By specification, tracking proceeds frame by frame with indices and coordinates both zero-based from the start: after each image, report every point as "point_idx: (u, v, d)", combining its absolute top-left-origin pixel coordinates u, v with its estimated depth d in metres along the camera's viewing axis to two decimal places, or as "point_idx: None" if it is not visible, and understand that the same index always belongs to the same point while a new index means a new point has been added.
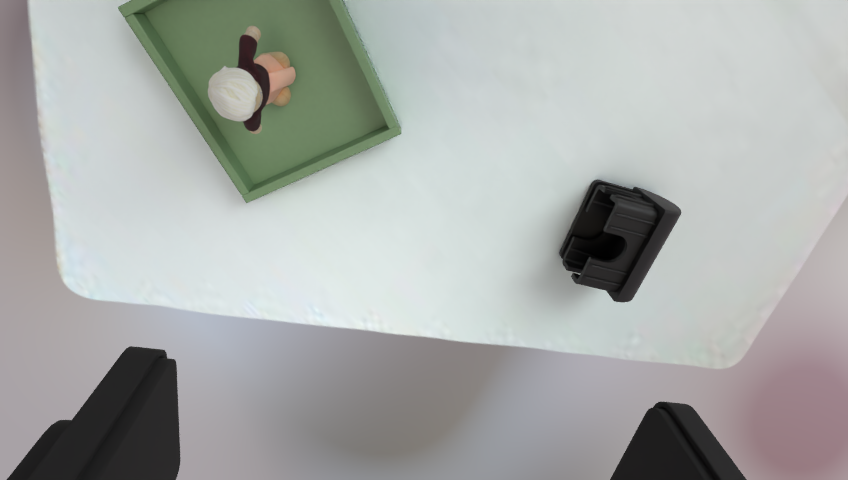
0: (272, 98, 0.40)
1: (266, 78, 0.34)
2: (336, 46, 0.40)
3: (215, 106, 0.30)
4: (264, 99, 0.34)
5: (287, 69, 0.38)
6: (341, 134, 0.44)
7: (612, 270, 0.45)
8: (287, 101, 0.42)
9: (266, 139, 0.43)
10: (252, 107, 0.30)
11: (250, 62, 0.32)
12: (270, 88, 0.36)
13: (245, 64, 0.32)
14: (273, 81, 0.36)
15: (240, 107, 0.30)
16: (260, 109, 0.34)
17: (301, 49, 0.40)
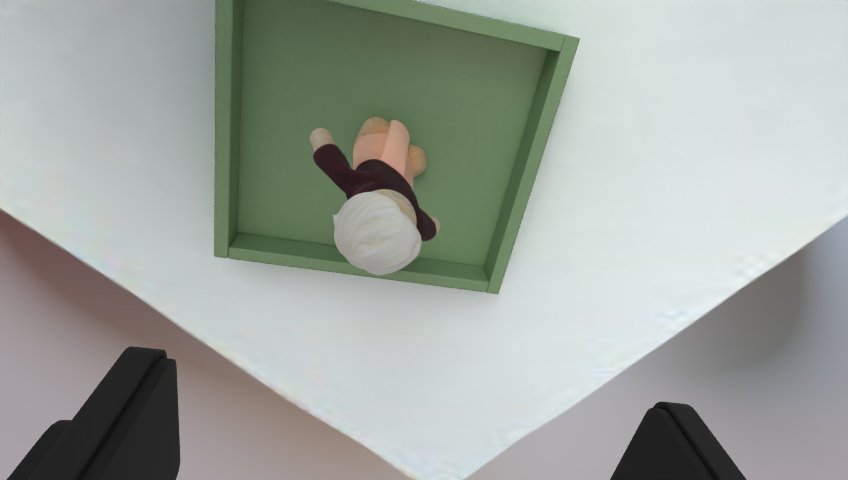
0: (410, 174, 0.27)
1: (384, 168, 0.21)
2: (405, 42, 0.25)
3: (374, 272, 0.18)
4: (408, 193, 0.21)
5: (390, 129, 0.25)
6: (510, 124, 0.28)
7: None
8: (425, 158, 0.28)
9: (448, 215, 0.30)
10: (411, 227, 0.17)
11: (351, 175, 0.20)
12: (399, 172, 0.22)
13: (349, 183, 0.20)
14: (393, 159, 0.23)
15: (399, 245, 0.17)
16: (417, 208, 0.21)
17: (379, 92, 0.27)
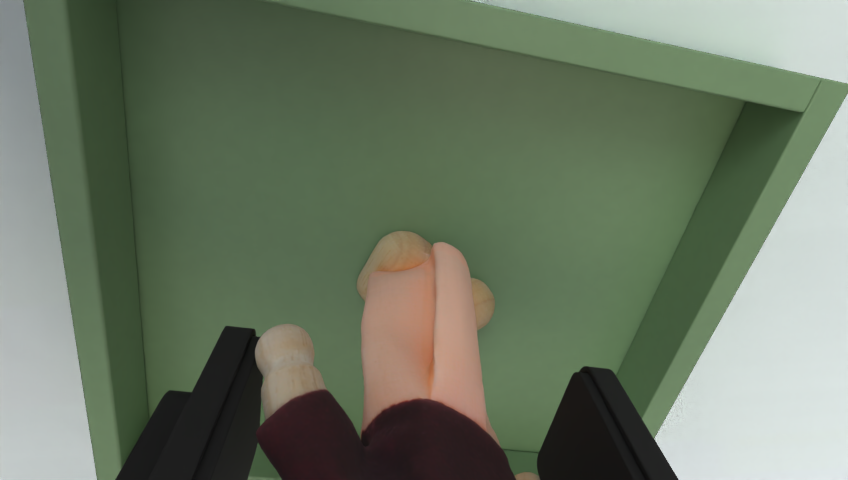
0: None
1: (449, 438, 0.08)
2: (461, 90, 0.12)
3: None
4: None
5: (440, 276, 0.12)
6: (653, 237, 0.15)
7: None
8: (492, 302, 0.15)
9: (523, 384, 0.17)
10: None
11: None
12: (478, 421, 0.09)
13: None
14: (462, 384, 0.09)
15: None
16: None
17: (406, 186, 0.13)
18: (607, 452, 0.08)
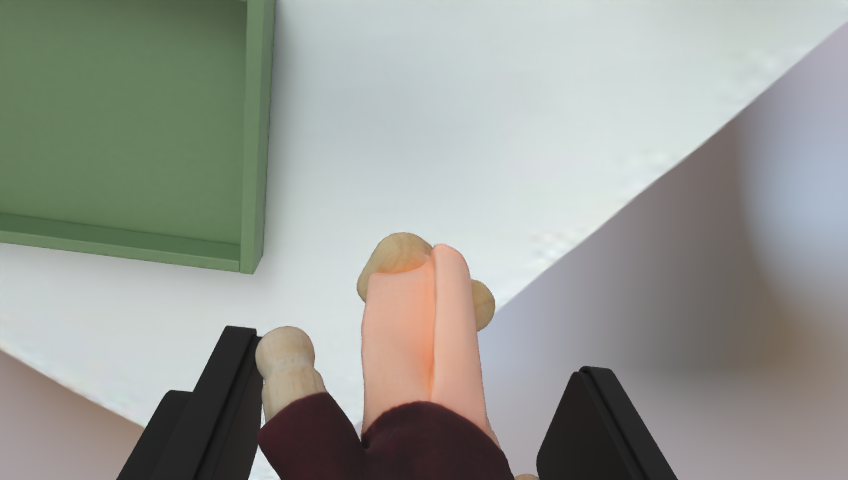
0: None
1: (450, 440, 0.08)
2: None
3: None
4: None
5: (440, 277, 0.12)
6: (237, 88, 0.26)
7: None
8: (492, 304, 0.15)
9: (194, 189, 0.28)
10: None
11: None
12: (479, 423, 0.09)
13: None
14: (462, 386, 0.09)
15: None
16: None
17: (80, 52, 0.25)
18: (606, 452, 0.08)
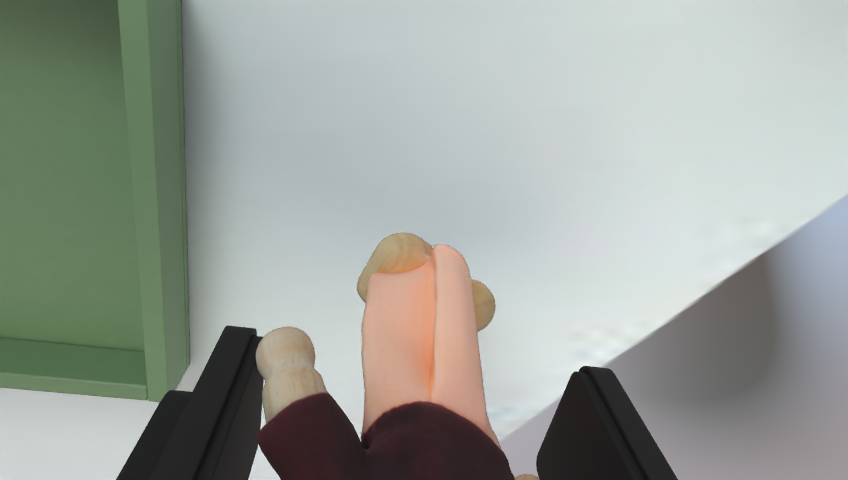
0: None
1: (450, 441, 0.08)
2: None
3: None
4: None
5: (440, 278, 0.12)
6: None
7: None
8: (492, 304, 0.15)
9: (77, 279, 0.19)
10: None
11: None
12: (479, 423, 0.09)
13: None
14: (462, 386, 0.09)
15: None
16: None
17: None
18: (607, 452, 0.08)
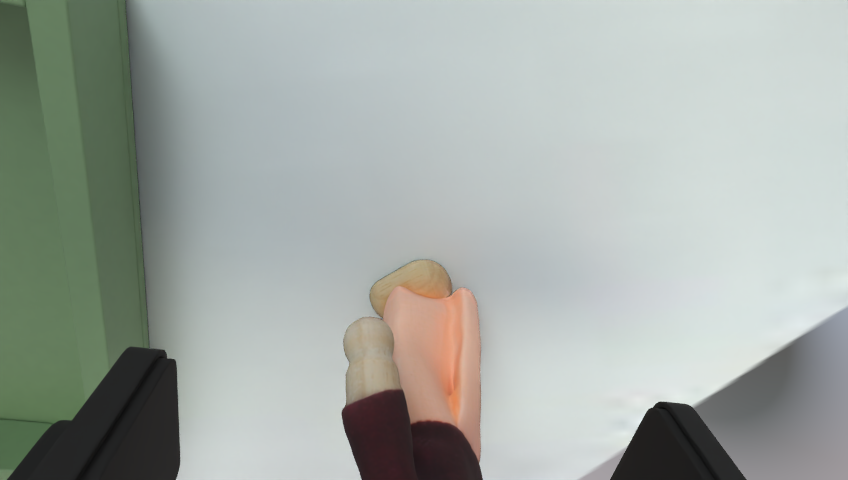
0: None
1: (469, 466, 0.10)
2: None
3: None
4: None
5: (467, 320, 0.13)
6: None
7: None
8: None
9: (12, 346, 0.15)
10: None
11: None
12: (478, 458, 0.11)
13: None
14: (475, 423, 0.11)
15: None
16: None
17: None
18: None
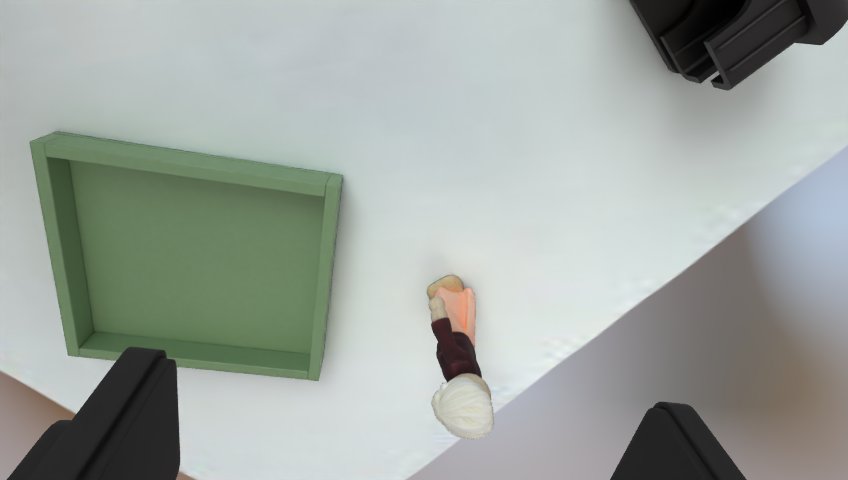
0: None
1: (470, 345, 0.29)
2: (207, 186, 0.31)
3: (453, 433, 0.26)
4: (479, 371, 0.29)
5: (470, 300, 0.33)
6: (310, 244, 0.33)
7: (763, 16, 0.23)
8: None
9: (272, 314, 0.36)
10: (493, 420, 0.25)
11: (457, 352, 0.27)
12: (473, 346, 0.30)
13: (453, 357, 0.27)
14: (472, 335, 0.31)
15: (483, 430, 0.25)
16: None
17: (193, 223, 0.32)
18: None
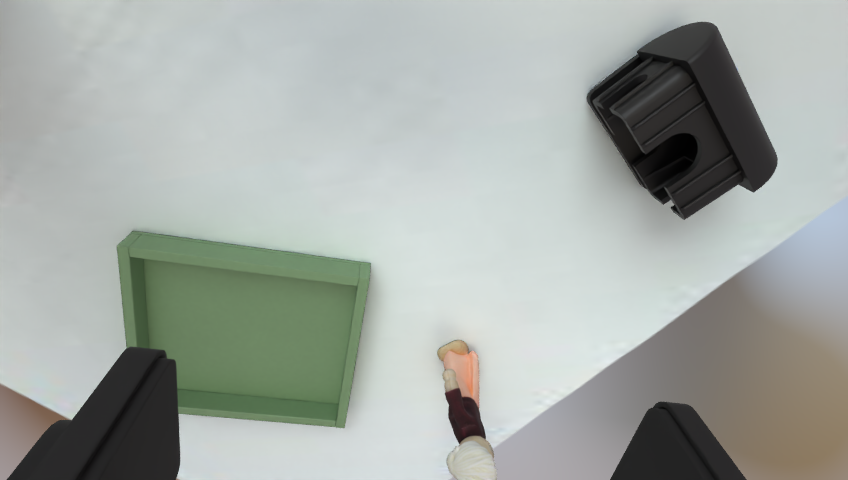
0: None
1: (476, 408, 0.36)
2: (257, 273, 0.37)
3: None
4: (483, 430, 0.36)
5: (474, 364, 0.40)
6: (340, 317, 0.39)
7: (708, 171, 0.29)
8: None
9: (305, 372, 0.42)
10: (496, 476, 0.32)
11: (466, 418, 0.34)
12: (478, 408, 0.37)
13: (463, 422, 0.34)
14: (477, 397, 0.37)
15: None
16: None
17: (243, 301, 0.38)
18: None
